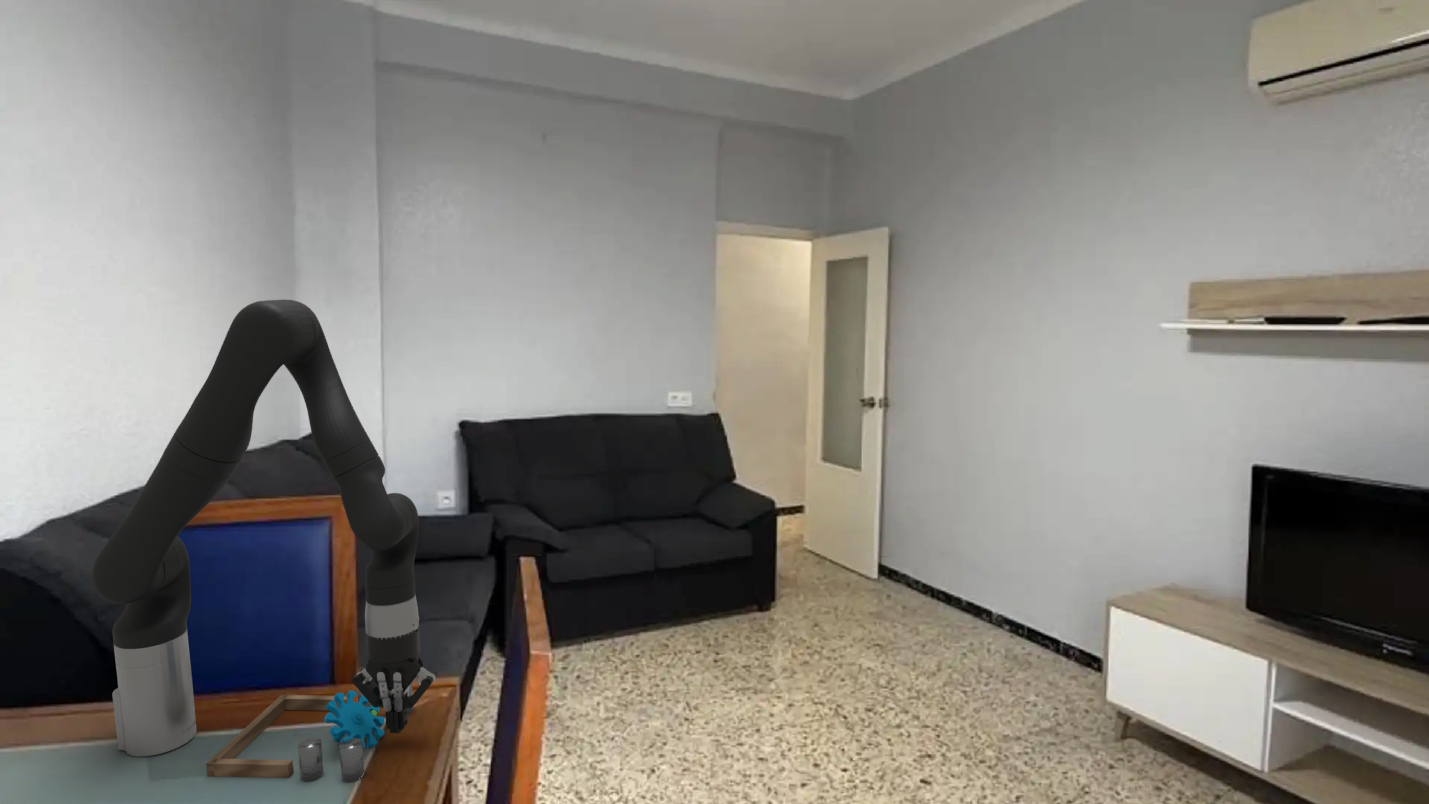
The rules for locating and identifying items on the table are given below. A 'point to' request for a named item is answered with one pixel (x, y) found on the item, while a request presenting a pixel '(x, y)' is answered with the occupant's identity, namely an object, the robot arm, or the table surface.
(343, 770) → the spacers
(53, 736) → the table surface
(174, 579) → the robot arm
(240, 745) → the frame
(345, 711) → the gear
